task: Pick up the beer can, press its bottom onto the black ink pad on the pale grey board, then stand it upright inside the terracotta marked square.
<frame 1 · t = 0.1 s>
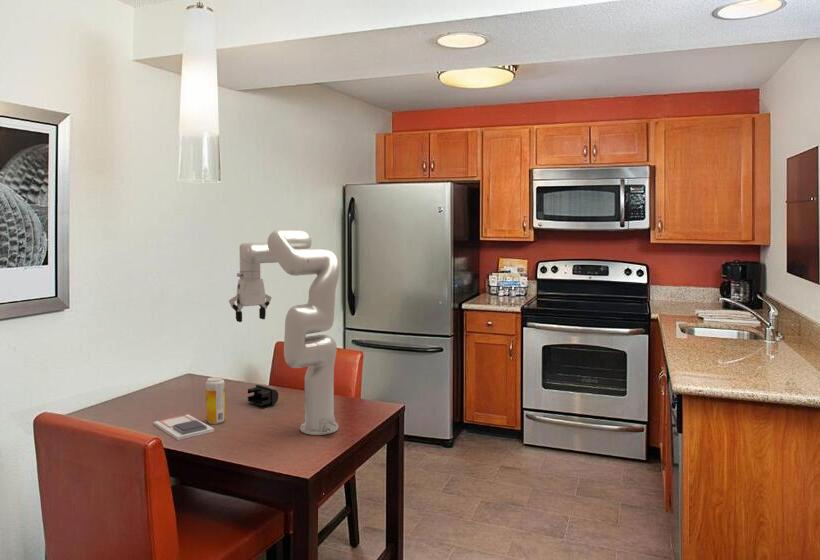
hand: (250, 320, 233), 31 cm above the table, tool pointing down, fingers open, 9 cm apart
stamping board: (183, 428, 204), on the table
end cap: (262, 405, 230), on the table
beer can: (216, 422, 210), on the table
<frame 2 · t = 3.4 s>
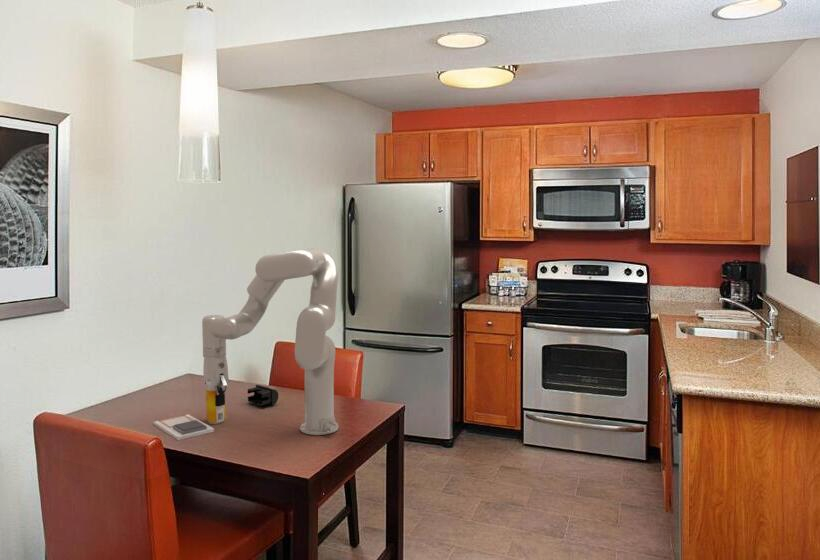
hand: (215, 402, 210), 7 cm above the table, tool pointing down, fingers closed on beer can, 6 cm apart
beer can: (216, 422, 210), on the table, touching gripper
everything else where it was.
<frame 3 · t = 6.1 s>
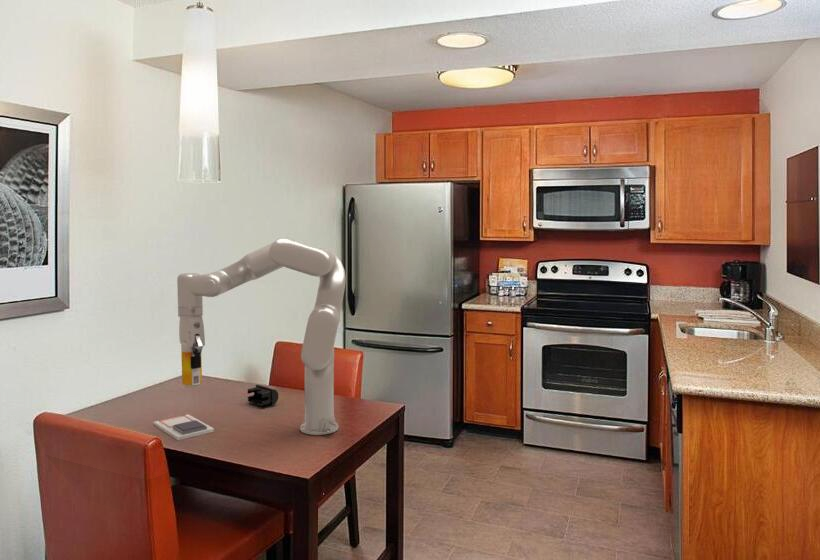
hand: (191, 365, 199), 22 cm above the table, tool pointing down, fingers closed on beer can, 6 cm apart
beer can: (192, 386, 200), point 15 cm above the table, touching gripper
everything else where it was.
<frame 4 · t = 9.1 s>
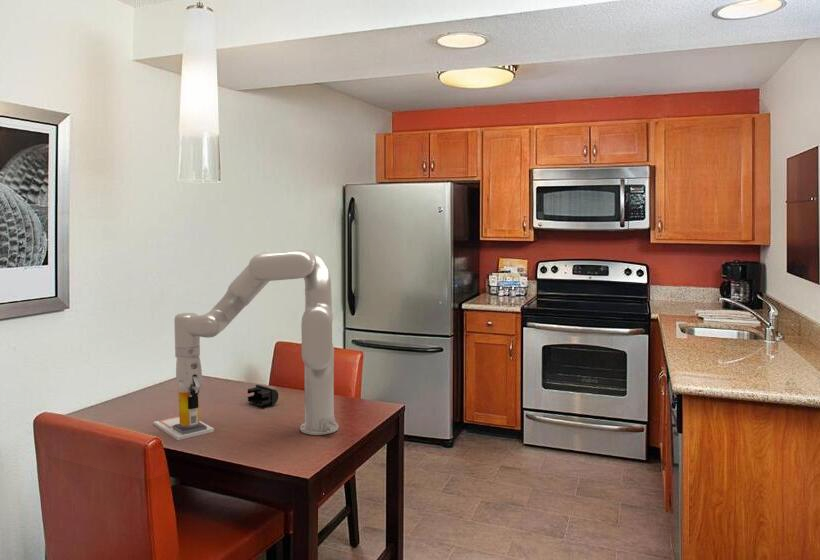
hand: (188, 405, 199), 9 cm above the table, tool pointing down, fingers closed on beer can, 6 cm apart
beer can: (189, 425, 200), point 2 cm above the table, touching gripper, stamping board
everything else where it was.
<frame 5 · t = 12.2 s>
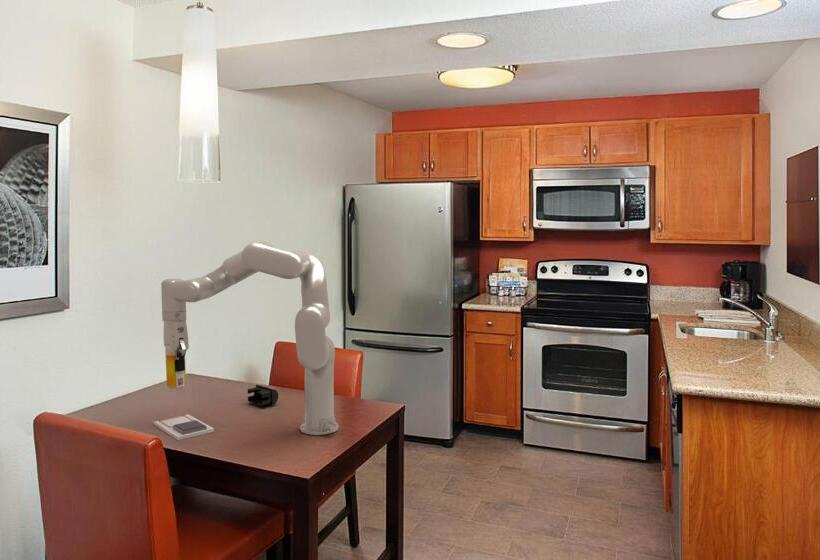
hand: (175, 368, 205), 19 cm above the table, tool pointing down, fingers closed on beer can, 6 cm apart
beer can: (176, 388, 206), point 13 cm above the table, touching gripper
everything else where it was.
when the fingers open (9 cm above the table, at t = 14.8 s): beer can drops 1 cm, resting on stamping board.
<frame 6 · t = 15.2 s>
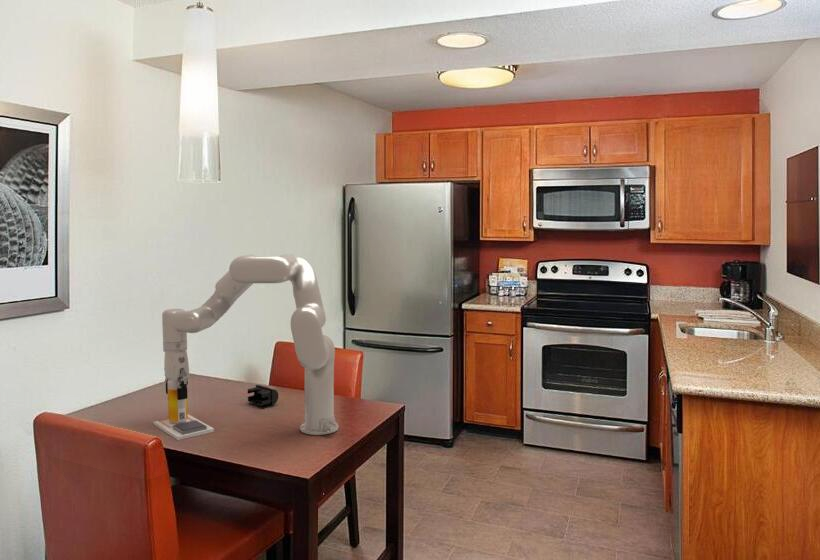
hand: (176, 396, 206), 10 cm above the table, tool pointing down, fingers open, 9 cm apart
beer can: (178, 421, 207), point 1 cm above the table, touching stamping board
everything else where it was.
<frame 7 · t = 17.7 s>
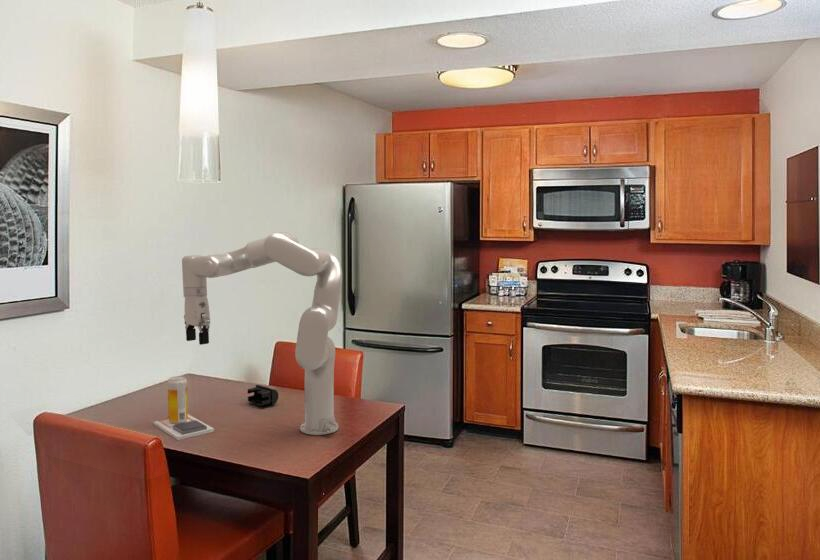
hand: (197, 342, 208), 28 cm above the table, tool pointing down, fingers open, 9 cm apart
nothing on the table moved.
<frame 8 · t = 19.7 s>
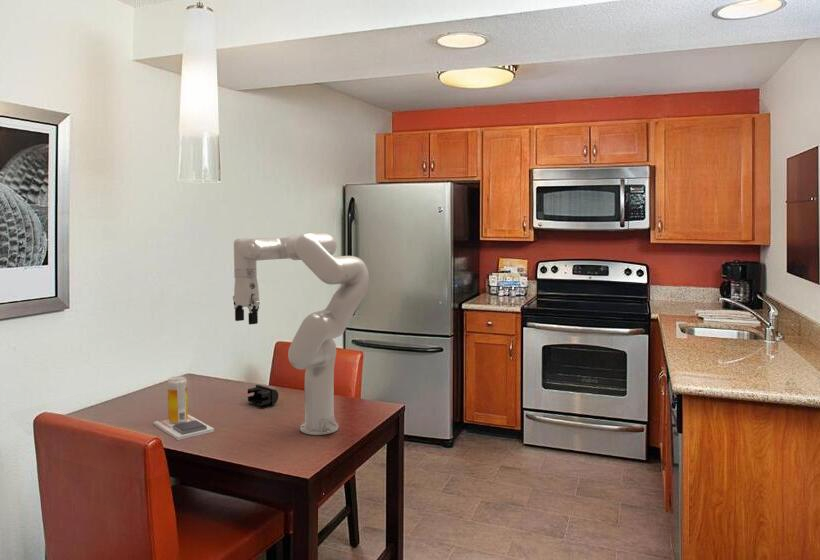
hand: (246, 322, 215), 33 cm above the table, tool pointing down, fingers open, 9 cm apart
nothing on the table moved.
at the end: beer can 0.4 cm from the target spot on the stamping board, point 0.8 cm above the stamping board's base; beer can tilted 0°; the gripper is holding nothing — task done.
